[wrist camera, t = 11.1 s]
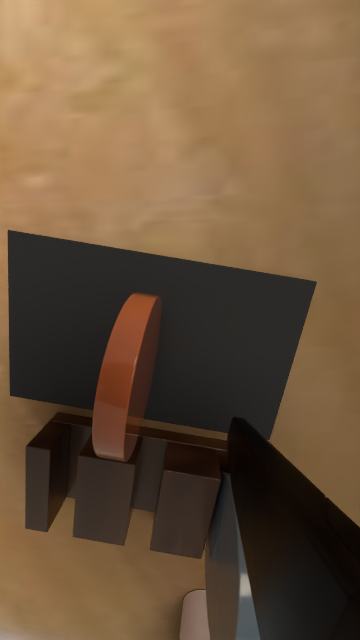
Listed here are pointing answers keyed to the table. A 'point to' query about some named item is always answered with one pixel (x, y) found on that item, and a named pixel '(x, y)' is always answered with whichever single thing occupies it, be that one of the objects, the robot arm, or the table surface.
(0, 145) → the table surface
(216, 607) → the blue-grey coaster
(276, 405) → the grey mat
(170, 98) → the table surface
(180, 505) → the coaster rack
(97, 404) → the terracotta coaster
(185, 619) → the smoothie
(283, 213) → the table surface
